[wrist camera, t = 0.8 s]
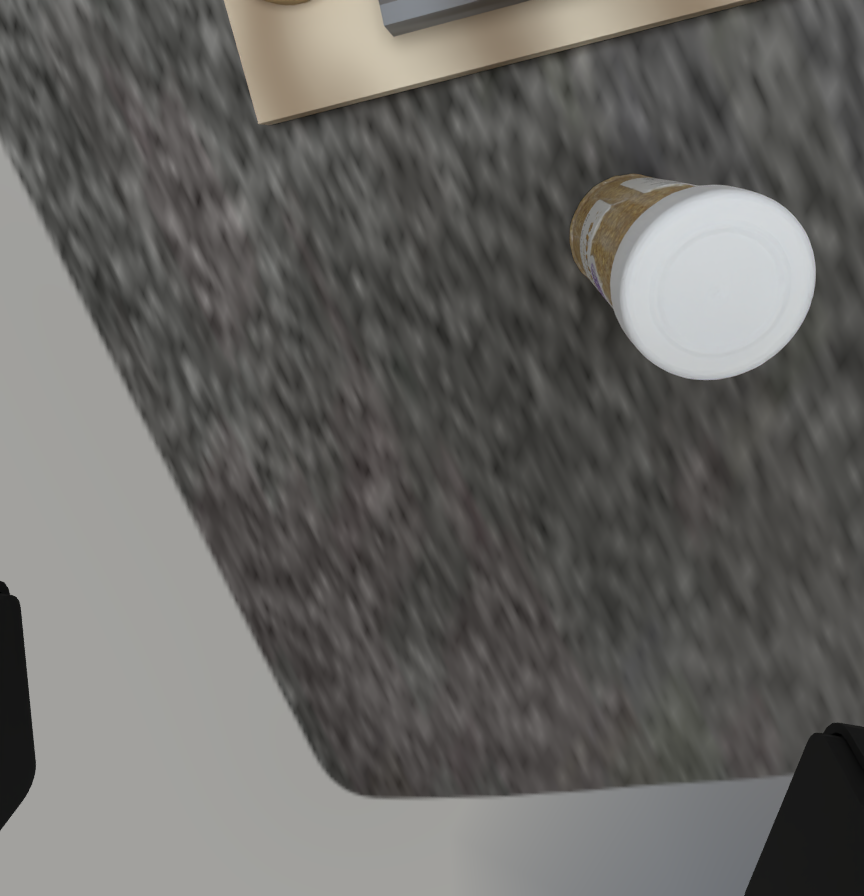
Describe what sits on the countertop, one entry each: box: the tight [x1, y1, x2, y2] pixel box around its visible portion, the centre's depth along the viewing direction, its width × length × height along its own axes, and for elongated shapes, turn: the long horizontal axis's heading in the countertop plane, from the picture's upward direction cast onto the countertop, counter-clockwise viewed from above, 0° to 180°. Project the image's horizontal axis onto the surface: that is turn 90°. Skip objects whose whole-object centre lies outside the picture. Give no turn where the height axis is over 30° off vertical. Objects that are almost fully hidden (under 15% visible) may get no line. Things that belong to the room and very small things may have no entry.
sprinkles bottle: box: [570, 174, 816, 380], centre depth 24 cm, size 5×5×13 cm
